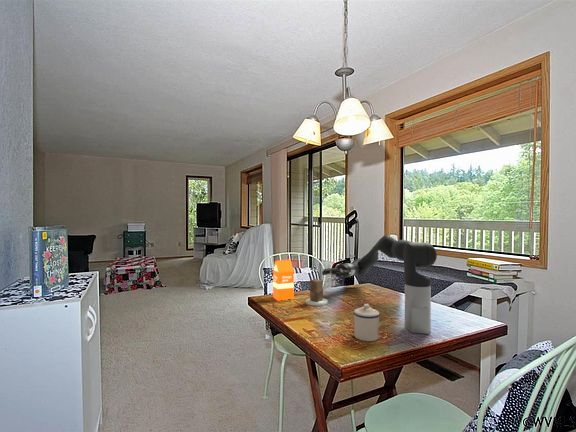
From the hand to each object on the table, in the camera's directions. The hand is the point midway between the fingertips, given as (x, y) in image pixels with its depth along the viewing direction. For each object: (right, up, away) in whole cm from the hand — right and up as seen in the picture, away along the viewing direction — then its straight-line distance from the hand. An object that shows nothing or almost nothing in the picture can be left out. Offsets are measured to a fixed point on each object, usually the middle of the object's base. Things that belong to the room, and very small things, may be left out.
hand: (329, 274), depth 163 cm
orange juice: (-24, -13, +1) cm, 28 cm away
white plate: (-8, -13, -7) cm, 17 cm away
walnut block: (-8, -12, -7) cm, 16 cm away
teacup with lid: (+6, -14, -49) cm, 51 cm away
